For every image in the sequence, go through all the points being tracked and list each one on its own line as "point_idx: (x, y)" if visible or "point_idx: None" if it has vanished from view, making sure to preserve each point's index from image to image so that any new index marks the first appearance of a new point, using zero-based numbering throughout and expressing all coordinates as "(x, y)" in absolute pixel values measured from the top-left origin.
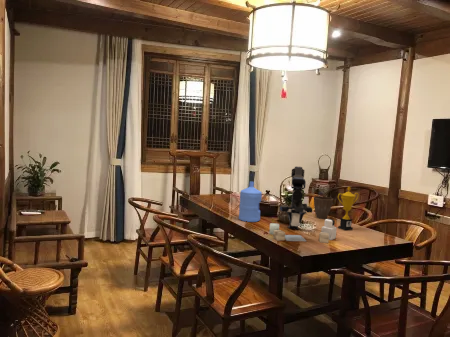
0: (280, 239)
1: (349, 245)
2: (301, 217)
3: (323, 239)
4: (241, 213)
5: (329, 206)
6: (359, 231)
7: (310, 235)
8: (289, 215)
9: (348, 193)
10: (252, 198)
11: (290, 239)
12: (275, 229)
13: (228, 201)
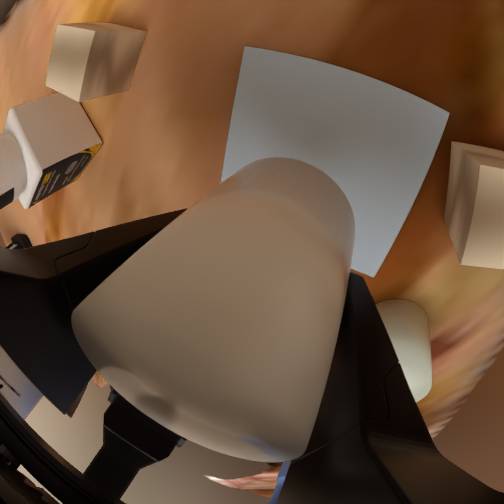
0: (499, 151)
1: (46, 10)
2: (92, 241)
3: (110, 26)
4: None
5: None
6: (5, 214)
7: (143, 206)
8: (420, 419)
9: None
10: None
11: (395, 120)
12: (414, 336)
13: (272, 489)
